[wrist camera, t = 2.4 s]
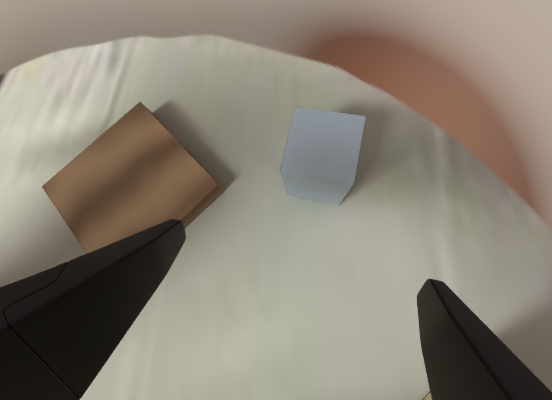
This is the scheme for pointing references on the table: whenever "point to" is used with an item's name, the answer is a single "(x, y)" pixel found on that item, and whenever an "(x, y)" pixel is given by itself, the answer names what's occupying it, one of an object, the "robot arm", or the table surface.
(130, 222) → the walnut block
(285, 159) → the blue-grey block
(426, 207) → the table surface
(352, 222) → the table surface
